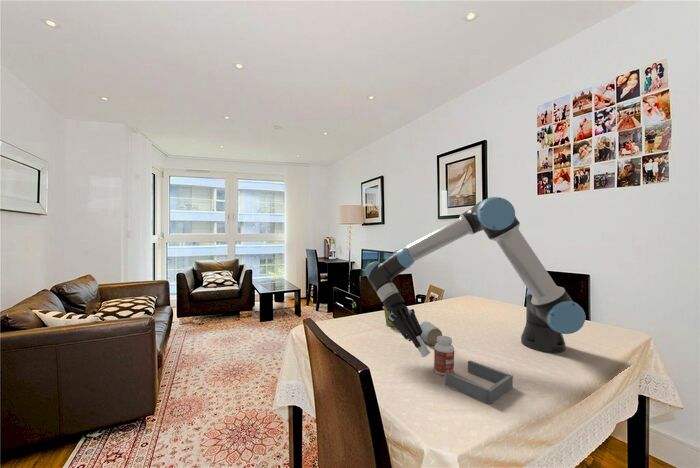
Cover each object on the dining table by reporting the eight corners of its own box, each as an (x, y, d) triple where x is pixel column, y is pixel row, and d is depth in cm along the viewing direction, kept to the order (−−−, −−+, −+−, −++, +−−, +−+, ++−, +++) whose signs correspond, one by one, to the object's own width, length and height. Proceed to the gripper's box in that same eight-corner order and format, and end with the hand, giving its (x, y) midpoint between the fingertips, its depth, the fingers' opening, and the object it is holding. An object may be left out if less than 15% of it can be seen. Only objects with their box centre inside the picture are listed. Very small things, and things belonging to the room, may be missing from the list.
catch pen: (445, 384, 92) (445, 373, 92) (469, 370, 101) (469, 360, 101) (490, 404, 82) (490, 391, 82) (512, 387, 91) (512, 375, 91)
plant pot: (390, 329, 143) (390, 310, 142) (378, 323, 151) (379, 305, 151) (406, 326, 147) (406, 308, 147) (394, 321, 155) (394, 303, 155)
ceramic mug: (427, 347, 121) (428, 327, 121) (416, 340, 129) (417, 321, 129) (450, 344, 124) (451, 325, 124) (438, 337, 132) (438, 320, 132)
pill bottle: (448, 378, 96) (448, 342, 96) (430, 371, 101) (430, 337, 100) (457, 371, 101) (457, 338, 100) (440, 365, 105) (440, 333, 105)
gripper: (396, 300, 124) (431, 355, 111) (373, 305, 116) (408, 365, 103) (407, 289, 120) (444, 345, 107) (384, 294, 111) (421, 354, 99)
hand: (426, 355), depth 105 cm, fingers closed
